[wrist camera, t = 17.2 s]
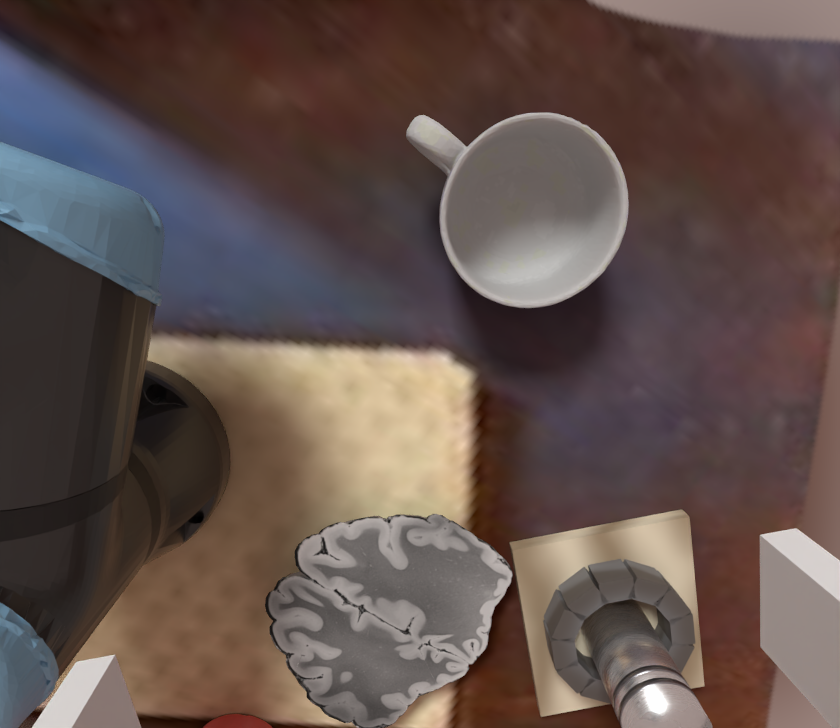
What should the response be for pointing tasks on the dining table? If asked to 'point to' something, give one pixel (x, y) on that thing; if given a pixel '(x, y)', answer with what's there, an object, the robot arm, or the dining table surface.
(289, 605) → the brain slice
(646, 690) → the piston
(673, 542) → the ring board
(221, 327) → the dining table surface
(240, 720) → the flower pot
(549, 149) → the teacup
